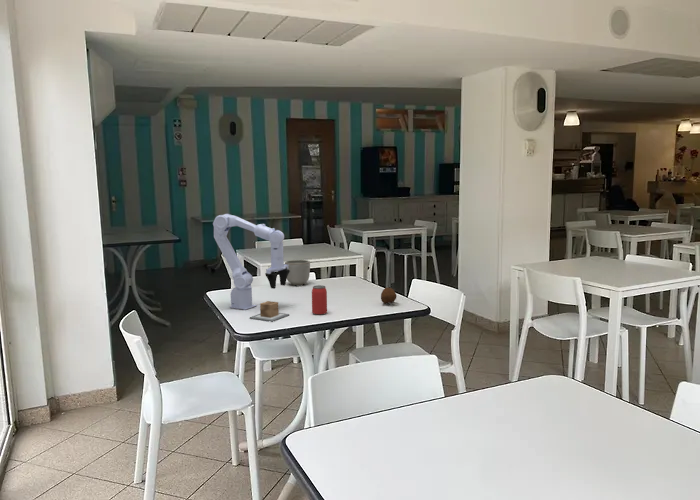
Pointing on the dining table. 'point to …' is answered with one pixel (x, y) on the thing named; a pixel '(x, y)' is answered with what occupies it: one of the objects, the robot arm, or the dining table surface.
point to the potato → (388, 295)
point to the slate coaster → (259, 317)
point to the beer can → (319, 300)
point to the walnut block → (269, 309)
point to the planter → (298, 271)
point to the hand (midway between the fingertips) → (278, 286)
